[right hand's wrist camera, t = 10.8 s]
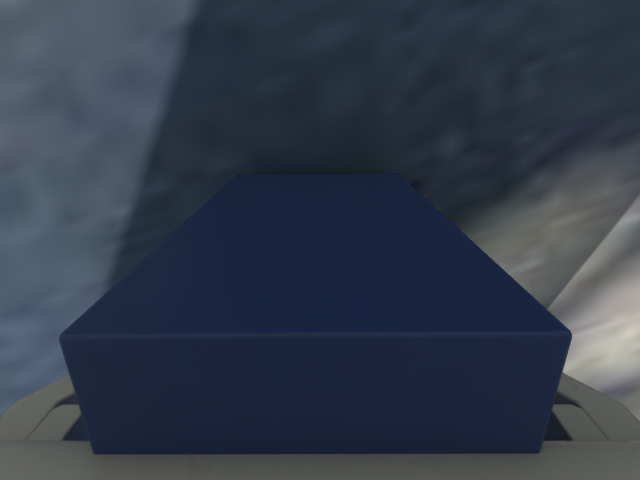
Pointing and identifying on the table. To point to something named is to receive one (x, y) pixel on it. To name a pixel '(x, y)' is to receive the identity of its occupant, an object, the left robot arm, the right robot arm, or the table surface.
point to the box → (316, 332)
